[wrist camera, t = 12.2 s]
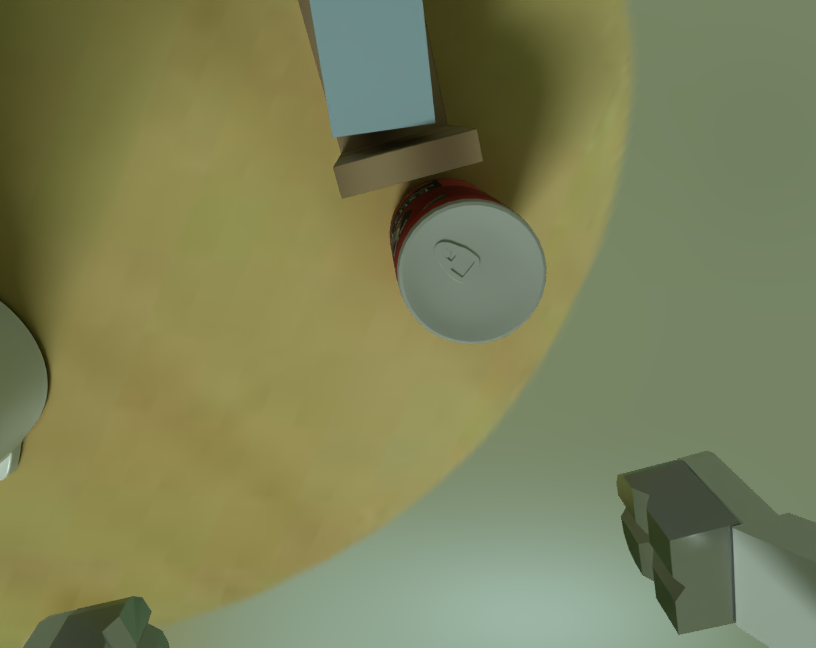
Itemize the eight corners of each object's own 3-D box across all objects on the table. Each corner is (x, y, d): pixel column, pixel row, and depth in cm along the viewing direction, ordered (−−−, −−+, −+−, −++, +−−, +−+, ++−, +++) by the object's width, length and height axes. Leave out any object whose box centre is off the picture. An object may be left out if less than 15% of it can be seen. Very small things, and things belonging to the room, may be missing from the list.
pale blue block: (296, -116, 28) (280, -173, 23) (394, -129, 28) (402, -189, 23) (338, 133, 32) (332, 137, 27) (423, 121, 33) (435, 123, 27)
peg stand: (348, 175, 37) (342, 198, 27) (262, -129, 31) (212, -249, 21) (450, 148, 37) (483, 161, 27) (384, -163, 31) (394, -301, 21)
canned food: (412, 159, 37) (430, 176, 27) (519, 202, 39) (574, 235, 28) (372, 264, 39) (374, 316, 29) (474, 301, 41) (511, 363, 31)
